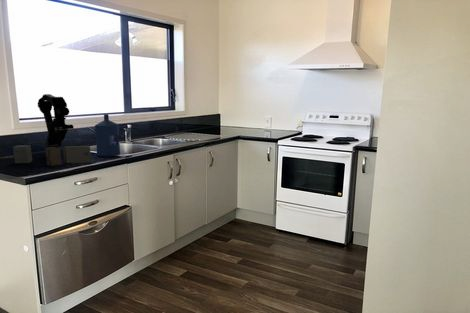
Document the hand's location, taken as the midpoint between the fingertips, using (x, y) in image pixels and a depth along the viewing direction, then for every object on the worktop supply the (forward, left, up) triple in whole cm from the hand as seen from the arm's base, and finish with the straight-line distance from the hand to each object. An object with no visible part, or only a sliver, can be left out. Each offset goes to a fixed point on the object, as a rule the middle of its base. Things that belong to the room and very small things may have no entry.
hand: (62, 140), depth 234 cm
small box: (+10, -21, -12) cm, 26 cm away
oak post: (+16, +2, -12) cm, 20 cm away
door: (+12, +14, -12) cm, 22 cm away
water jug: (-17, +23, -12) cm, 32 cm away
